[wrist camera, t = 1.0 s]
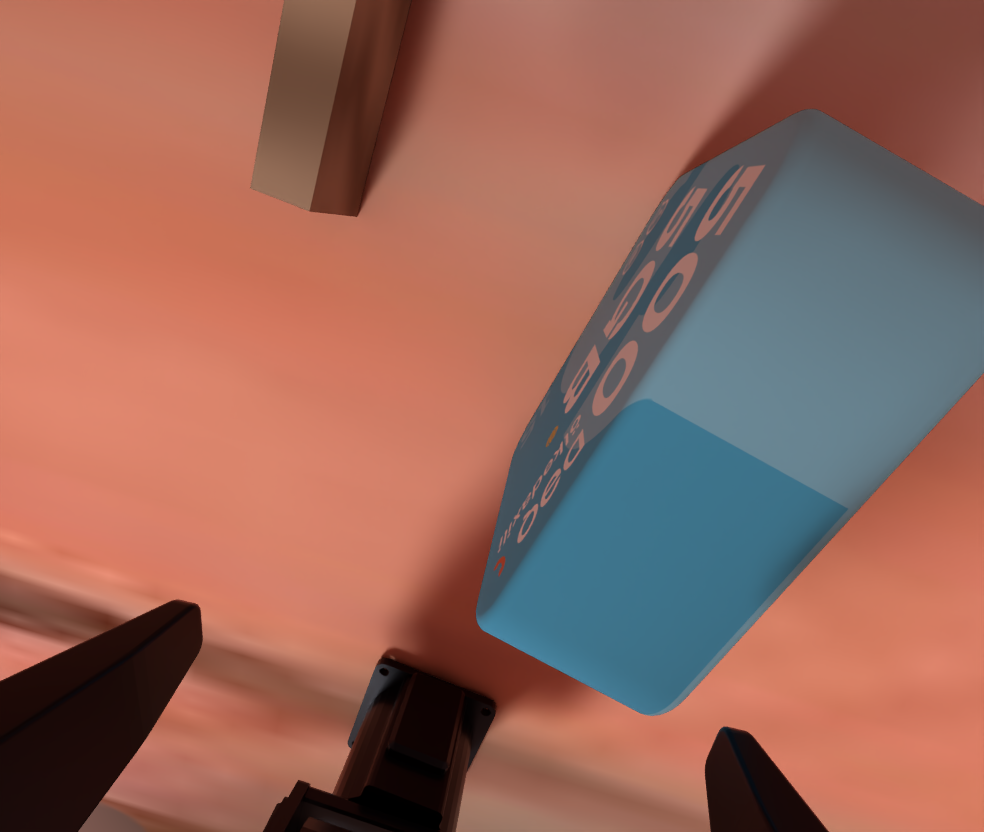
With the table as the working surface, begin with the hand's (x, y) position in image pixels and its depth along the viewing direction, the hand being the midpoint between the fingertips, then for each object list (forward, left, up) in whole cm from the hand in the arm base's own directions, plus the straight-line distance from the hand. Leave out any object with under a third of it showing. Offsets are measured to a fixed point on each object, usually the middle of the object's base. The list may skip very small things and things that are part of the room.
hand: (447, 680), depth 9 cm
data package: (+4, -3, -14) cm, 15 cm away
